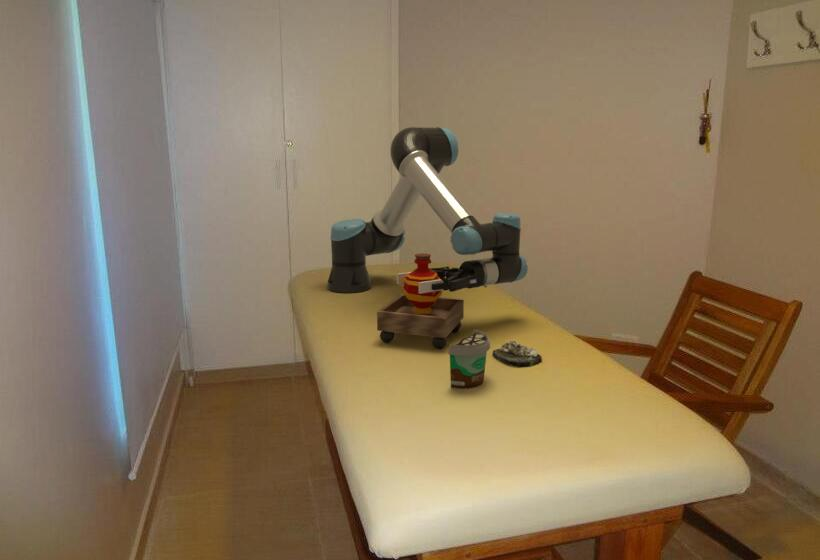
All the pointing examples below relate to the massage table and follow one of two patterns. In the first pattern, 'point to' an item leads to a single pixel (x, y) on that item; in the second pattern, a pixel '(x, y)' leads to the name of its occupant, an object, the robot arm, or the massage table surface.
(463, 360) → the food container
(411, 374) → the massage table surface
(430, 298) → the potion bottle
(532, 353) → the grey lumpy piece
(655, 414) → the massage table surface
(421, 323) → the dolly
